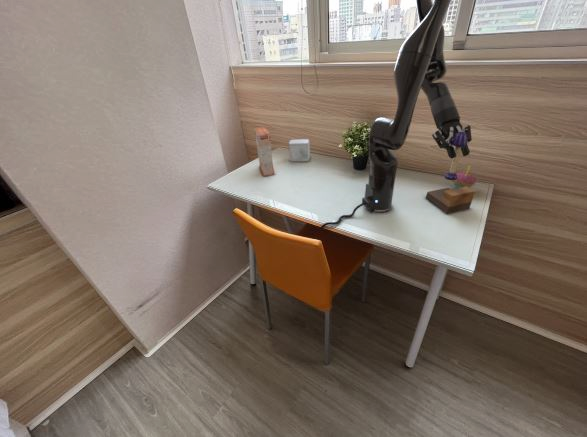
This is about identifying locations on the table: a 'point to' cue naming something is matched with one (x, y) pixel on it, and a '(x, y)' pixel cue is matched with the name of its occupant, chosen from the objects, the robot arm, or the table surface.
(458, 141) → the toy lamp
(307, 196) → the table surface
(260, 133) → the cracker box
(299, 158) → the cosmetics box
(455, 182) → the cupcake
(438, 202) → the tiered shelf
